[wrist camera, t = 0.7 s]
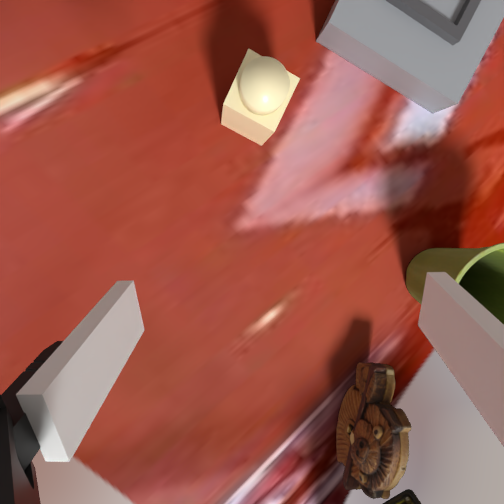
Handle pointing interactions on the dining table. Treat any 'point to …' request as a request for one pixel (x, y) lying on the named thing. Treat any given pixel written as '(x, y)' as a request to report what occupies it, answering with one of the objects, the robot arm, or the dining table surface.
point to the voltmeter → (404, 498)
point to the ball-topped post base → (415, 43)
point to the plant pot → (463, 273)
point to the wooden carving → (372, 433)
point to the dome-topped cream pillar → (258, 97)
